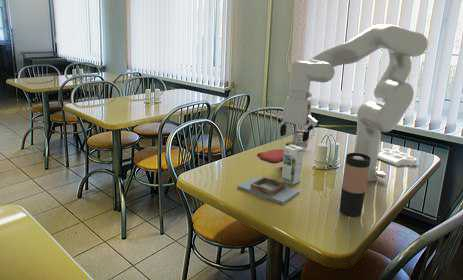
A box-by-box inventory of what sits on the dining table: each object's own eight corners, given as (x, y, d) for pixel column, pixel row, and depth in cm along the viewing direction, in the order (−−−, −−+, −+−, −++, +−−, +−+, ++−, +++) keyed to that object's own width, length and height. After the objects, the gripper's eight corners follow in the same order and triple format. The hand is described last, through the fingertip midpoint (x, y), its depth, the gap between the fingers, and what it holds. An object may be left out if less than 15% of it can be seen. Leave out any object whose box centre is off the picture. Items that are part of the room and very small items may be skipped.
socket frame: (285, 187, 139) (286, 183, 138) (272, 196, 132) (272, 191, 131) (264, 180, 144) (264, 176, 144) (250, 188, 137) (250, 183, 136)
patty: (271, 165, 165) (272, 161, 164) (252, 156, 176) (252, 152, 175) (299, 158, 175) (299, 154, 174) (279, 150, 186) (279, 146, 185)
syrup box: (280, 180, 148) (283, 146, 143) (290, 177, 152) (293, 143, 147) (291, 185, 144) (295, 150, 139) (301, 181, 148) (304, 147, 143)
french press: (287, 145, 193) (291, 98, 185) (309, 145, 194) (314, 98, 186) (292, 151, 183) (297, 102, 176) (315, 151, 185) (320, 102, 177)
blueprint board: (299, 193, 137) (299, 190, 137) (282, 204, 128) (283, 201, 128) (255, 178, 149) (255, 176, 148) (237, 188, 140) (237, 185, 139)
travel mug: (336, 205, 128) (343, 152, 122) (358, 206, 128) (366, 153, 122) (341, 216, 121) (349, 160, 115) (365, 217, 121) (374, 161, 115)
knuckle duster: (369, 157, 180) (389, 153, 187) (401, 169, 166) (421, 164, 173) (370, 150, 179) (390, 147, 186) (403, 162, 165) (423, 158, 172)
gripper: (324, 97, 135) (318, 141, 140) (283, 90, 145) (279, 131, 150) (315, 99, 129) (309, 145, 134) (273, 92, 139) (269, 135, 144)
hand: (293, 138), depth 142 cm, fingers open, 9 cm apart
